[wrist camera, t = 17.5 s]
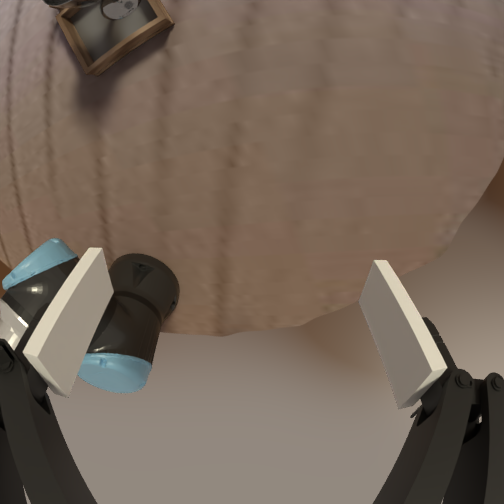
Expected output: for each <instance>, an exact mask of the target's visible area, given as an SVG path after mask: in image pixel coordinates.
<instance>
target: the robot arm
mask: <svg viewBox="0 0 504 504" xmlns="http://www.w3.org/2000/svg"><path fill="white" fill-rule="evenodd" d="M2 285H3V288H4V289H5V290H7V291H6V293H5V294H4V295H3V297H2V298H1V299H0V310H1V315H0V504H27V502H26V497H25V493H24V488H25V491H26V493H27V495H28V498H29V500H30V502H31V504H97V502H96V501H95V499H94V497H93V496H92V494H91V492H90V490H89V489H88V487H87V485H86V483H85V481H84V479H83V478H82V476H81V474H80V472H79V470H78V468H77V466H76V464H75V462H74V460H73V457H72V455H71V453H70V451H69V449H68V447H67V444H66V442H65V439H64V437H63V435H62V432H61V430H60V427H59V424H58V422H57V419H56V416H55V413H54V411H53V408H52V405H51V402H50V399H49V396H48V394H47V393H46V390H47V387H49V388H50V389H51V390H52V391H53V392H54V393H55V394H58V395H61V396H64V397H67V398H69V396H70V393H71V390H72V387H73V384H74V382H75V379H76V377H77V375H78V376H79V377H80V378H81V379H83V380H84V381H85V382H87V383H89V384H91V385H93V386H95V387H98V388H100V389H103V390H106V391H111V392H116V393H132V392H136V391H138V390H140V389H142V388H143V387H144V386H145V384H146V381H147V378H148V375H149V373H150V371H151V369H152V361H153V357H154V353H155V349H156V345H157V341H158V337H159V333H160V329H161V325H162V323H163V322H164V321H165V319H166V318H167V317H168V316H169V315H170V313H171V312H172V311H173V310H174V308H175V306H176V304H177V301H178V297H179V284H178V281H177V279H176V277H175V275H174V274H173V272H172V271H171V270H170V269H169V268H168V267H167V266H166V265H165V264H164V263H162V262H161V261H159V260H157V259H155V258H153V257H151V256H148V255H144V254H127V255H124V256H121V257H119V258H118V259H117V260H115V261H114V263H113V264H112V266H111V267H110V269H109V271H108V269H107V265H106V261H105V257H104V253H103V249H102V248H90V247H89V249H88V250H87V251H86V253H85V254H84V255H83V257H82V258H81V259H79V258H78V255H77V254H75V253H74V252H73V251H72V250H71V249H70V248H69V247H68V246H67V245H66V244H65V243H64V242H63V241H62V240H61V239H59V238H52V239H49V240H48V241H46V242H45V243H44V244H42V245H41V246H40V247H38V248H37V249H36V250H35V251H34V252H32V253H31V254H30V255H29V256H28V257H27V258H25V259H24V260H23V261H22V262H21V263H20V264H19V265H18V266H17V267H16V268H15V269H14V270H13V271H12V272H11V273H10V274H8V275H7V276H6V277H5V278H4V280H3V281H2ZM359 304H360V307H361V309H362V311H363V314H364V316H365V319H366V321H367V324H368V326H369V329H370V331H371V334H372V336H373V339H374V341H375V344H376V347H377V349H378V352H379V355H380V357H381V360H382V363H383V365H384V368H385V371H386V374H387V377H388V379H389V382H390V385H391V388H392V391H393V394H394V397H395V400H396V403H397V406H398V409H402V408H406V407H410V406H413V405H414V404H415V403H416V402H417V401H418V400H419V399H421V402H422V405H421V406H420V407H419V408H418V409H417V410H416V411H415V412H414V413H413V414H412V415H411V418H413V417H414V416H415V415H416V414H417V415H416V417H415V420H414V422H413V425H412V427H411V430H410V432H409V435H408V437H407V439H406V442H405V444H404V446H403V448H402V450H401V452H400V455H399V457H398V459H397V461H396V463H395V465H394V467H393V469H392V471H391V473H390V474H389V476H388V478H387V480H386V482H385V484H384V485H383V487H382V489H381V491H380V493H379V494H378V496H377V497H376V499H375V501H374V502H373V504H441V502H442V499H443V497H444V499H443V503H442V504H504V379H503V378H502V376H500V375H499V374H497V373H490V374H489V375H488V376H487V377H486V378H485V379H484V380H480V379H473V378H472V377H471V375H470V374H469V373H468V372H466V371H465V370H462V369H458V368H457V367H456V365H455V363H454V361H453V359H452V357H451V355H450V353H449V351H448V349H447V347H446V345H445V343H443V340H442V338H441V336H439V332H438V331H437V329H436V327H435V326H434V324H433V323H432V322H431V321H430V320H429V319H428V318H427V317H425V318H421V316H420V314H419V312H418V311H417V309H416V307H415V306H414V304H413V302H412V300H411V299H410V297H409V295H408V294H407V292H406V290H405V289H404V287H403V285H402V284H401V282H400V281H399V279H398V277H397V276H396V274H395V273H394V271H393V269H392V268H391V266H390V265H389V263H388V262H387V260H373V263H372V266H371V269H370V272H369V275H368V278H367V280H366V283H365V286H364V288H363V291H362V294H361V296H360V299H359ZM481 416H482V422H481V423H479V417H481ZM23 486H24V488H23Z"/></svg>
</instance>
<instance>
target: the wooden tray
mask: <svg viewBox="0 0 504 504" xmlns="http://www.w3.org/2000/svg"><path fill="white" fill-rule="evenodd" d="M100 2H101V0H99V1H98V2H96V3H94V4H92V5H90V6H87V7H83V8H75V9H73V8H59V7H54V6H50V5H49V7H51V8H56V9H59V10H60V13H59V14H58V15H57V16H56V19H57V21H58V23H59V25H60V27H61V29H62V31H63V33H64V35H65V37H66V38H67V40H68V42H69V44H70V46H71V48H72V50H73V52H74V53H75V55H76V57H77V59H78V61H79V63H80V64H81V66H82V68H83V70H84V72H85V73H86V75H91V74H94V75H95V76H99V75H100V74H101V73H103V72H104V71H105V70H106V69H108V68H109V67H110V66H112V65H113V64H114V63H115V62H117V61H118V60H120V59H121V58H122V57H124V56H125V55H126V54H128V53H129V52H131V51H132V50H134V49H135V48H136V47H138V46H139V45H141V44H142V43H144V42H146V41H147V40H149V39H150V38H152V37H153V36H155V35H157V34H158V33H160V32H162V31H163V30H165V29H167V28H168V27H170V26H172V25H174V24H175V23H174V22H173V20H172V18H171V17H170V15H169V14H168V12H167V11H166V9H165V7H164V6H163V4H162V3H161V1H160V0H141V2H140V4H139V6H138V7H137V8H136V9H135V11H133V12H132V13H131V14H130V15H128V16H126V17H124V18H122V19H118V20H109V19H106V18H104V17H103V16H102V14H101V12H100Z"/></svg>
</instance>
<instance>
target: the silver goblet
mask: <svg viewBox="0 0 504 504" xmlns="http://www.w3.org/2000/svg"><path fill="white" fill-rule="evenodd" d="M43 1H44V3H46V4H47V5H50V6H54V7H59V8H73V9H75V8H83V7H87V6H90V5H92V4H94V3H96V2H98V1H99V0H43ZM140 2H141V0H101V2H100V12H101V14H102V16H103V17H104V18H106V19H109V20H118V19H122V18H124V17H126V16H128V15H130V14H131V13H132V12H133V11H135V9H136V8H137V7H138V6H139V4H140Z"/></svg>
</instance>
